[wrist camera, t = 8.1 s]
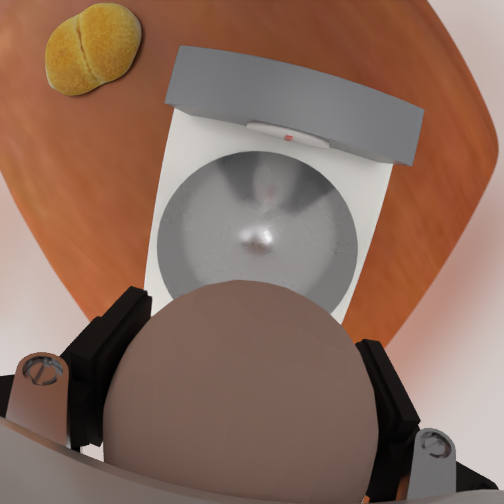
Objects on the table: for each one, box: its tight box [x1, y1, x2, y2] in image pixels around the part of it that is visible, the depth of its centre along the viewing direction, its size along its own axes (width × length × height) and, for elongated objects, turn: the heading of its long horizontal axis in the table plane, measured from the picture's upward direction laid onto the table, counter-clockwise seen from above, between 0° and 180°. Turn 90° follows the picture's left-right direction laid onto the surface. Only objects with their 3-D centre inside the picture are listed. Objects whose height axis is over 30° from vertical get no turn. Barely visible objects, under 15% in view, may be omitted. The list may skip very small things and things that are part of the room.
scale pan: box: [157, 151, 358, 314], centre depth 20 cm, size 13×13×1 cm
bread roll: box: [45, 3, 142, 96], centre depth 19 cm, size 8×9×4 cm
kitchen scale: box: [144, 45, 424, 325], centre depth 20 cm, size 17×14×10 cm
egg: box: [103, 280, 379, 504], centre depth 7 cm, size 7×7×9 cm
